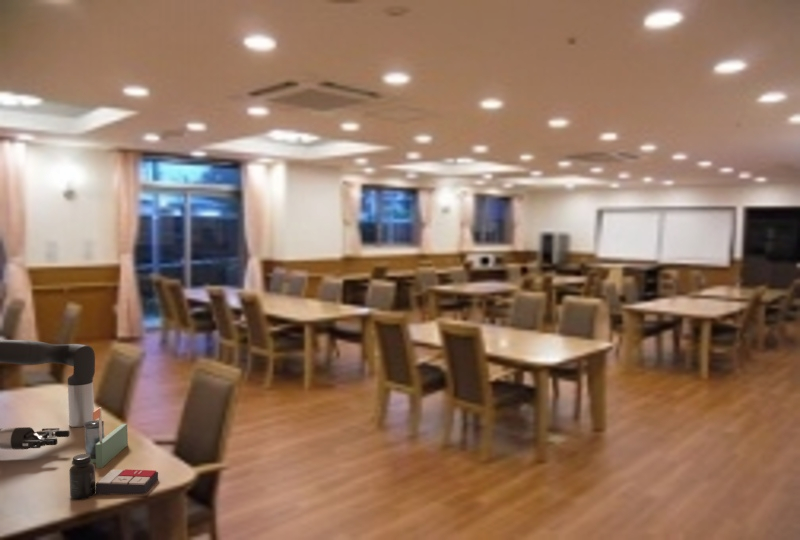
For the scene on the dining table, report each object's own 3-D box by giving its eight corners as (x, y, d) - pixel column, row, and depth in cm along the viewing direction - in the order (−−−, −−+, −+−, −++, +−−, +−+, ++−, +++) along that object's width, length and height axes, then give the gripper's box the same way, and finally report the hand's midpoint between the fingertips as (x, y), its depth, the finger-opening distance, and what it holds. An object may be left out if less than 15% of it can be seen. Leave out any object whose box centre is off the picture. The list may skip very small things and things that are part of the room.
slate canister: (90, 453, 219) (89, 420, 218) (107, 452, 220) (106, 420, 219) (82, 459, 213) (81, 425, 212) (100, 459, 213) (99, 425, 213)
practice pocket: (94, 445, 227) (93, 392, 226) (127, 444, 228) (126, 392, 226) (61, 471, 202) (59, 412, 201) (98, 471, 203) (96, 411, 201)
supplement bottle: (89, 488, 189) (88, 450, 188) (99, 494, 184) (98, 455, 184) (66, 496, 183) (64, 457, 183) (76, 502, 179) (74, 462, 178)
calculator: (145, 483, 185) (95, 481, 184) (144, 497, 185) (94, 495, 184) (158, 469, 196) (111, 467, 195) (158, 482, 196) (111, 480, 195)
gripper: (3, 434, 207) (52, 433, 208) (26, 421, 221) (72, 420, 222) (4, 456, 207) (53, 455, 208) (27, 442, 222) (73, 441, 223)
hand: (63, 437), depth 215 cm, fingers open, 8 cm apart
